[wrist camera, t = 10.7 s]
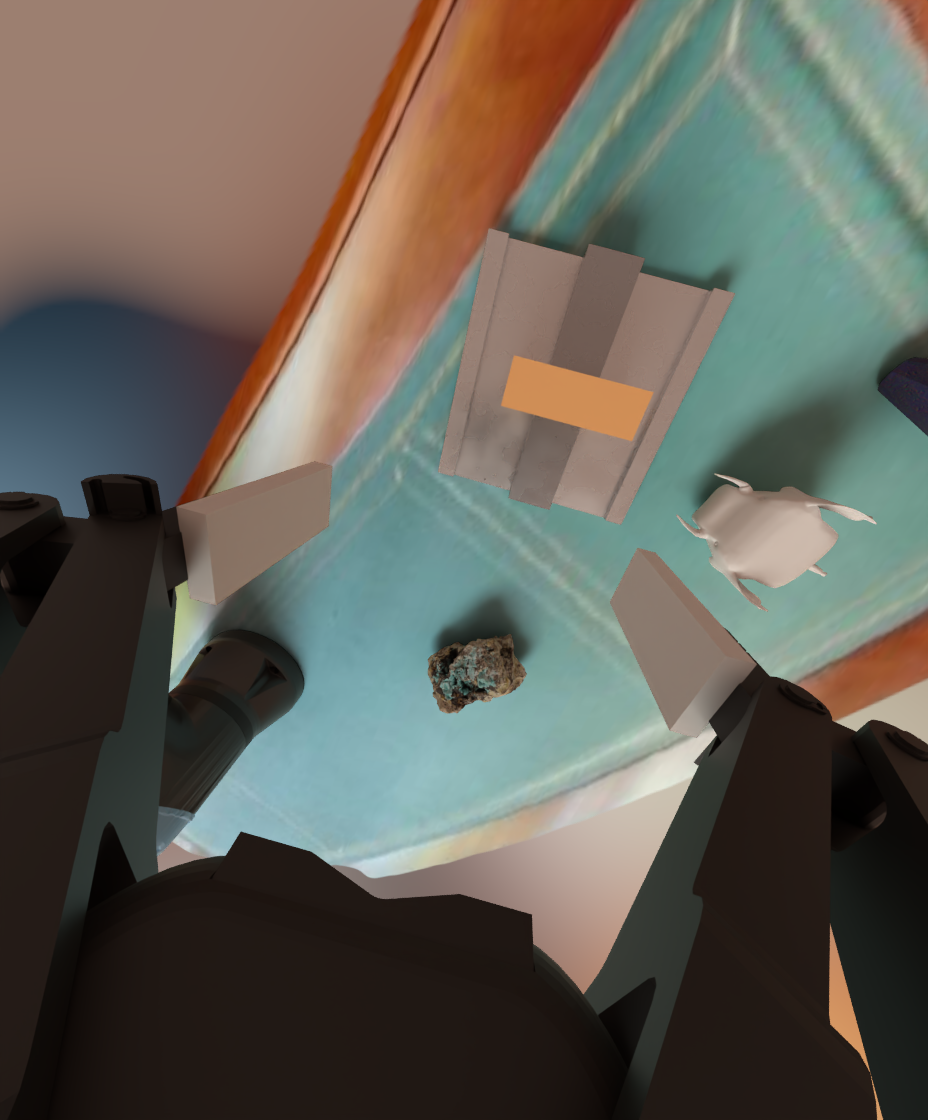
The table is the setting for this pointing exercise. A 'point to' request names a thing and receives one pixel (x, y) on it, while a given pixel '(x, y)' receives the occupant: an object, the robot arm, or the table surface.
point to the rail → (579, 345)
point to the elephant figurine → (766, 533)
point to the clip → (575, 398)
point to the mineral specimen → (474, 672)
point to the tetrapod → (909, 390)
